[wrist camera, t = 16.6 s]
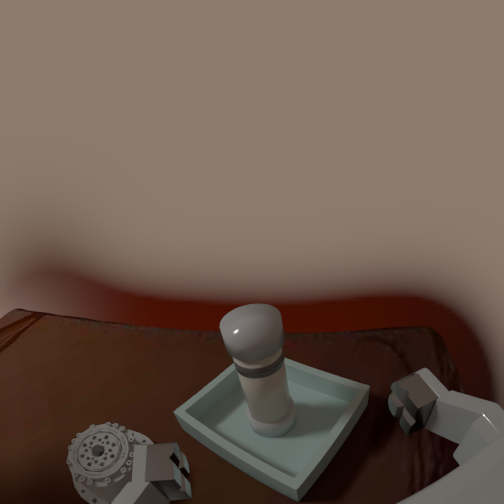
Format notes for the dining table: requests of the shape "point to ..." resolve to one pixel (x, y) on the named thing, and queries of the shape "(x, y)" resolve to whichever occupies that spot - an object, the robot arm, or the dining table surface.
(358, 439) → the dining table surface
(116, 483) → the mechanical component
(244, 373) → the grey peg
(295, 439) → the parts tray
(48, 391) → the dining table surface
